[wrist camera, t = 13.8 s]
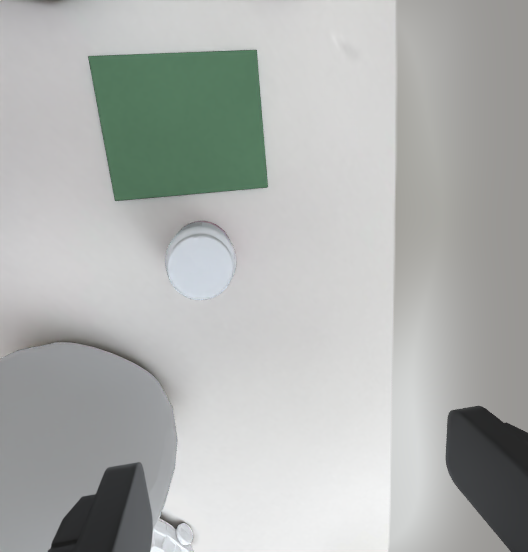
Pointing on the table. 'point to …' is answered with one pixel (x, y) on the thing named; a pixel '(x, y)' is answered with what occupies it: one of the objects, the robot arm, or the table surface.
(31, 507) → the soap bottle
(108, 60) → the cloth
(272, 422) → the table surface
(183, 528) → the toy car
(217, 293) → the pill bottle
